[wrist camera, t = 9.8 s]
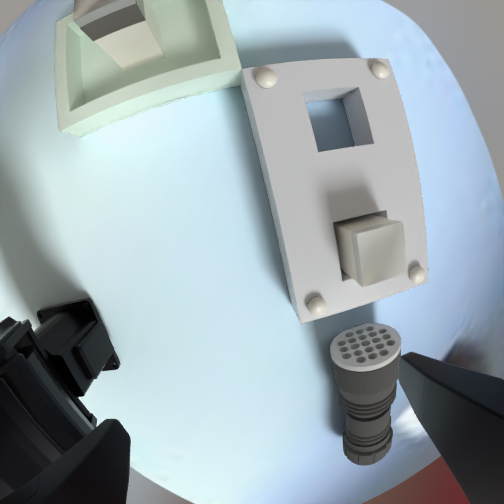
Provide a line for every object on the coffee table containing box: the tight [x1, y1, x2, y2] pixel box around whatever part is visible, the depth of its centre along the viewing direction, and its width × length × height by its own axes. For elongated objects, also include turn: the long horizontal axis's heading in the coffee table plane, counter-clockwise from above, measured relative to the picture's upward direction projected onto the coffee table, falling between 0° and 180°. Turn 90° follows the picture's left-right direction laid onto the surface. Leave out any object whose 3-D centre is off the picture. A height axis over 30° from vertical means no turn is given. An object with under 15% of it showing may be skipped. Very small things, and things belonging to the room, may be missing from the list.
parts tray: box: [55, 0, 242, 137], centre depth 14 cm, size 12×10×3 cm
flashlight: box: [330, 323, 401, 465], centre depth 21 cm, size 15×5×5 cm, turn 15°
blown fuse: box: [73, 0, 165, 71], centre depth 11 cm, size 3×3×8 cm
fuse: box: [333, 214, 407, 288], centre depth 17 cm, size 3×3×6 cm
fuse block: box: [240, 58, 428, 324], centre depth 17 cm, size 10×16×3 cm, turn 13°
